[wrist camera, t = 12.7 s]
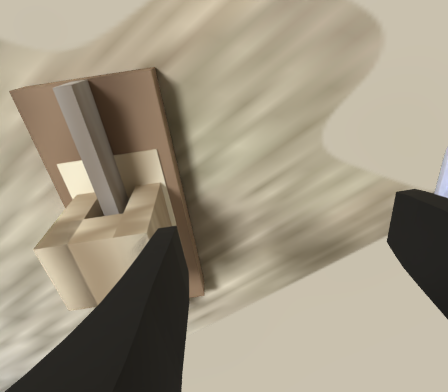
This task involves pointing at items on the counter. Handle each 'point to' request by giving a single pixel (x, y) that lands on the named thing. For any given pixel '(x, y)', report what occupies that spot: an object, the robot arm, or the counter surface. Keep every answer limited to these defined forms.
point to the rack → (109, 145)
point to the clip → (99, 244)
